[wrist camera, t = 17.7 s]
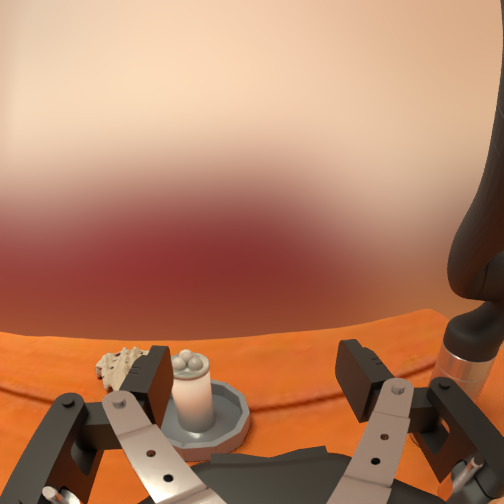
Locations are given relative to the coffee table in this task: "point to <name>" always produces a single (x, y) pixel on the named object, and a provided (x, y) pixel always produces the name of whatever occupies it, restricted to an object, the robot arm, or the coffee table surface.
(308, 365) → the coffee table surface
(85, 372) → the coffee table surface
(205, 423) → the pebble cup
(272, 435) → the coffee table surface
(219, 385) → the bowl
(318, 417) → the coffee table surface
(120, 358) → the coral
